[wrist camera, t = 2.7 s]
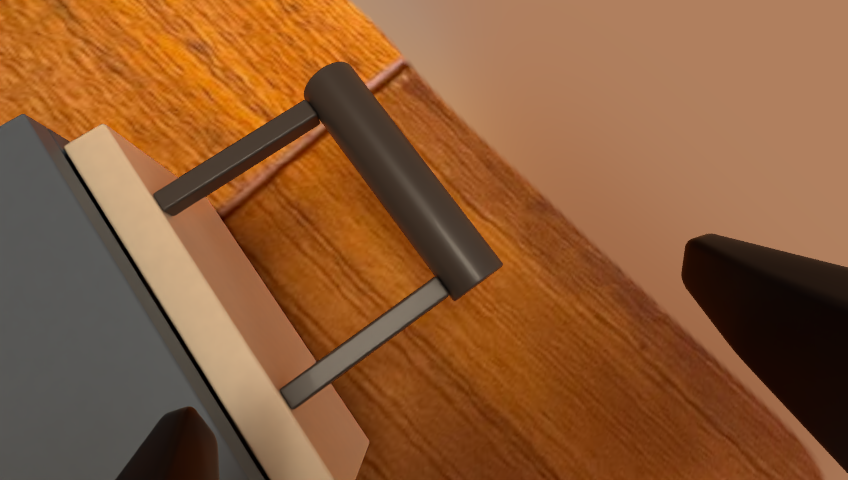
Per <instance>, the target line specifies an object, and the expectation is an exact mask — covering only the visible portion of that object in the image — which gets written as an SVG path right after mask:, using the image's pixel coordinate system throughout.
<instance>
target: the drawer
mask: <svg viewBox="0 0 848 480" xmlns="http://www.w3.org/2000/svg"><path fill="white" fill-rule="evenodd" d="M304 98H305V100H303V101H302V102H300V103H298V104H297V105H295V106H294V107H292V108H290V109H289V110H287V111H285V112H284V113H282V114H281V115H279V116H277V117H276V118H274V119H273V120H271V121H269V122H268V123H266V124H264V125H263V126H261V127H260V128H258V129H256V130H255V131H253V132H252V133H250V134H248V135H247V136H245V137H244V138H242V139H240V140H239V141H237V142H235V143H234V144H232V145H231V146H229V147H227V148H226V149H224V150H223V151H221V152H219V153H218V154H216V155H215V156H213V157H211V158H210V159H208V160H206V161H205V162H203V163H202V164H200V165H198V166H197V167H195V168H194V169H192V170H190V171H189V172H187V173H185V174H184V175H182V176H181V177H179V178H178V177H176V176H175V175H174V174H172V173H171V172H170V171H168V170H167V169H166V168H164V167H163V166H161V165H160V164H159V163H157V162H156V161H155V160H153V159H152V158H151V157H149V156H148V155H146V154H145V153H144V152H142V151H141V150H140V149H138V148H137V147H136V146H134V145H133V144H131V143H130V142H129V141H127V140H126V139H125V138H123V137H122V136H121V135H119V134H118V133H116V132H115V131H114V130H112V129H111V128H110V127H108V126H107V125H105V124H101V125H99V126H97V127H96V128H94V129H92V130H91V131H89V132H87V133H85V134H84V135H82V136H80V137H79V138H77V139H75V140H73V141H72V142H70V143H68V144H67V145H65V146H64V149H65V151H66V153H67V154H68V156H69V158H70V159H71V161H72V162H73V164H74V166H75V167H76V169H77V170H78V172H79V174H80V175H81V177H82V178H83V180H84V182H85V183H86V185H87V187H88V188H89V190H90V191H91V193H92V195H93V196H94V198H95V199H96V201H97V203H98V204H99V206H100V207H101V209H102V211H103V212H104V214H105V216H106V217H107V219H108V220H109V222H110V224H111V225H112V227H113V228H114V230H115V231H114V230H112V229H110V231H111V233H112V234H113V236H114V238H115V239H116V241H117V242H118V244H119V246H120V247H121V249H122V250H123V252H124V254H125V255H126V257H127V258H128V260H129V262H130V263H131V265H132V267H133V268H134V270H135V271H136V273H137V275H138V276H139V278H140V279H141V281H142V283H143V284H144V286H145V288H146V289H147V291H148V292H149V294H150V296H151V297H152V299H153V300H154V302H155V304H156V305H157V307H158V309H159V310H160V312H161V313H162V315H163V317H164V318H165V320H166V321H167V323H168V325H169V326H170V328H171V330H172V331H173V333H174V334H175V336H176V338H177V339H178V341H179V342H180V344H181V346H182V347H183V349H184V351H185V352H186V354H187V355H188V357H189V359H190V360H191V362H192V363H193V365H194V367H195V368H196V370H197V371H198V373H199V375H200V376H201V378H202V380H203V381H204V383H205V384H206V386H207V388H208V389H209V391H210V392H211V394H212V396H213V397H214V399H215V401H216V402H217V404H218V405H219V407H220V409H221V410H222V412H223V413H224V415H225V417H226V418H227V420H228V422H229V423H230V425H231V426H232V428H233V430H234V431H235V433H236V434H237V436H238V438H239V439H240V441H241V443H242V444H243V446H244V447H245V449H246V451H247V452H248V454H249V455H250V457H251V459H252V460H253V462H254V464H255V465H256V467H257V468H258V470H259V472H260V473H261V475H262V476H263V478H264V480H356V477H357V474H358V472H359V469H360V466H361V464H362V461H363V459H364V456H365V453H366V451H367V448H368V445H369V443H370V442H369V440H368V438H367V437H366V435H365V434H364V432H363V431H362V429H361V428H360V426H359V425H358V423H357V422H356V420H355V419H354V417H353V416H352V414H351V413H350V411H349V410H348V408H347V407H346V405H345V404H344V402H343V401H342V399H341V398H340V396H339V395H338V393H337V392H336V390H335V389H334V387H333V386H332V384H331V383H332V382H333V381H335V380H336V379H337V378H339V377H340V376H341V375H343V374H344V373H346V372H347V371H348V370H350V369H351V368H352V367H354V366H355V365H356V364H358V363H359V362H360V361H362V360H363V359H364V358H366V357H367V356H369V355H370V354H371V353H373V352H374V351H375V350H377V349H378V348H379V347H381V346H382V345H383V344H385V343H386V342H388V341H389V340H390V339H392V338H393V337H394V336H396V335H397V334H398V333H400V332H401V331H402V330H404V329H405V328H407V327H408V326H409V325H411V324H412V323H413V322H415V321H416V320H417V319H419V318H420V317H421V316H423V315H424V314H426V313H427V312H428V311H430V310H431V309H432V308H434V307H435V306H436V305H438V304H439V303H440V302H442V301H443V300H445V299H446V298H447V297H448V296H450V297H451V298H452V300H453V301H456V300H458V299H459V298H460V297H462V296H463V295H465V294H466V293H467V292H469V291H470V290H471V289H473V288H474V287H475V286H477V285H478V284H480V283H481V282H482V281H484V280H485V279H486V278H488V277H489V276H490V275H491V274H493V273H494V272H495V271H497V270H498V269H499V268H501V267H502V265H503V263H502V262H501V261H500V259H499V258H498V257H497V255H496V254H495V253H494V252H493V250H492V249H491V248H490V246H489V245H488V244H487V242H486V241H485V240H484V239H483V237H482V236H481V235H480V233H479V232H478V231H477V229H476V228H475V227H474V226H473V224H472V223H471V222H470V220H469V219H468V218H467V216H466V215H465V214H464V212H463V211H462V210H461V209H460V207H459V206H458V205H457V203H456V202H455V201H454V199H453V198H452V197H451V196H450V194H449V193H448V192H447V190H446V189H445V188H444V186H443V185H442V184H441V183H440V181H439V180H438V179H437V177H436V176H435V175H434V173H433V172H432V171H431V170H430V168H429V167H428V166H427V164H426V163H425V162H424V160H423V159H422V158H421V157H420V155H419V154H418V153H417V151H416V150H415V149H414V147H413V146H412V145H411V144H410V142H409V141H408V140H407V138H406V137H405V136H404V134H403V133H402V132H401V131H400V129H399V128H398V127H397V125H396V124H395V123H394V121H393V120H392V119H391V118H390V116H389V115H388V114H387V112H386V111H385V110H384V108H383V107H382V106H381V105H380V103H379V102H378V101H377V99H376V98H375V97H374V95H373V94H372V93H371V92H370V90H369V89H368V88H367V86H366V85H365V84H364V82H363V81H362V80H361V78H360V77H359V76H358V75H357V73H356V72H355V71H354V69H353V68H352V67H351V66H350V65H349V64H348V63H345V62H335V63H332V64H329V65H327V66H325V67H323V68H322V69H320V70H319V71H318V72H317V73H316V74H314V75H313V77H312V78H311V79H310V80H309V82H308V83H307V85H306V87H305V90H304ZM319 119H320V121H321V122H322V124H323V125H324V126H325V128H326V129H327V130H328V132H329V133H330V134H331V136H332V137H333V138H334V140H335V141H336V143H337V144H338V145H339V147H340V148H341V149H342V151H343V152H344V153H345V155H346V156H347V157H348V159H349V160H350V161H351V163H352V164H353V166H354V167H355V168H356V170H357V171H358V172H359V174H360V175H361V176H362V178H363V179H364V180H365V182H366V183H367V185H368V186H369V187H370V189H371V190H372V191H373V193H374V194H375V195H376V197H377V198H378V199H379V201H380V202H381V203H382V205H383V206H384V208H385V209H386V210H387V212H388V213H389V214H390V216H391V217H392V218H393V220H394V221H395V222H396V224H397V225H398V227H399V228H400V229H401V231H402V232H403V233H404V235H405V236H406V237H407V239H408V240H409V241H410V243H411V244H412V246H413V247H414V248H415V250H416V251H417V252H418V254H419V255H420V256H421V258H422V259H423V260H424V262H425V263H426V264H427V266H428V267H429V269H430V270H431V271H432V273H433V274H434V275H435V277H433V278H432V279H431V280H429V281H428V282H427V283H425V284H424V285H422V286H421V287H420V288H418V289H417V290H415V291H414V292H413V293H411V294H410V295H409V296H407V297H406V298H404V299H403V300H402V301H400V302H399V303H398V304H396V305H395V306H393V307H392V308H391V309H389V310H388V311H387V312H385V313H384V314H382V315H381V316H380V317H378V318H377V319H375V320H374V321H373V322H371V323H370V324H369V325H367V326H366V327H364V328H363V329H362V330H360V331H359V332H358V333H356V334H355V335H353V336H352V337H351V338H349V339H348V340H347V341H345V342H344V343H342V344H341V345H340V346H338V347H337V348H335V349H334V350H333V351H331V352H330V353H329V354H327V355H326V356H324V357H323V358H322V359H320V360H319V361H318V362H316V360H315V359H314V357H313V356H312V354H311V353H310V351H309V350H308V348H307V347H306V345H305V344H304V342H303V341H302V339H301V338H300V336H299V335H298V333H297V332H296V330H295V329H294V327H293V326H292V324H291V323H290V321H289V320H288V318H287V317H286V315H285V314H284V312H283V311H282V309H281V308H280V306H279V305H278V303H277V302H276V300H275V299H274V297H273V296H272V294H271V293H270V291H269V290H268V288H267V287H266V285H265V284H264V282H263V281H262V279H261V278H260V276H259V275H258V273H257V272H256V270H255V269H254V267H253V266H252V264H251V263H250V261H249V260H248V258H247V257H246V256H245V254H244V253H243V251H242V250H241V248H240V247H239V245H238V244H237V242H236V241H235V239H234V238H233V236H232V235H231V233H230V232H229V230H228V229H227V227H226V226H225V224H224V223H223V221H222V220H221V218H220V217H219V215H218V214H217V212H216V211H215V209H214V208H213V206H212V205H211V203H210V202H209V200H208V199H206V198H205V197H206V196H207V195H209V194H210V193H212V192H213V191H215V190H217V189H218V188H220V187H221V186H223V185H225V184H226V183H228V182H229V181H231V180H232V179H234V178H236V177H237V176H239V175H240V174H242V173H243V172H245V171H247V170H248V169H250V168H251V167H253V166H255V165H256V164H258V163H259V162H261V161H262V160H264V159H266V158H267V157H269V156H270V155H272V154H273V153H275V152H277V151H278V150H280V149H281V148H283V147H285V146H286V145H288V144H289V143H291V142H292V141H294V140H296V139H297V138H299V137H300V136H302V135H303V134H305V133H307V132H308V131H310V130H311V129H313V128H315V127H316V126H318V125H319V124H320V121H319Z"/></svg>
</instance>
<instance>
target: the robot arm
mask: <svg viewBox="0 0 848 480" xmlns="http://www.w3.org/2000/svg"><path fill="white" fill-rule="evenodd" d="M682 280H683V283H684V285H685V287H686V289H687V290H688V291H689V293H690V294H691V295H692V296H693V298H694V299H695V300H696V302H697V303H698V304H699V306H700V307H701V308H702V309H703V311H704V312H705V314H706V315H707V316H708V317H709V319H710V320H711V321H712V323H713V324H714V325H715V327H716V328H717V329H718V331H719V332H720V333H721V335H722V336H723V337H724V338H725V340H726V341H727V342H728V344H729V345H730V346H731V347H732V349H733V350H734V351H735V352H736V353H737V355H739V357H740V358H741V359H742V360H743V361H744V363H745V364H746V365H747V366H748V367H749V368H750V369H751V370H752V371H753V372H754V373H755V374H756V375H757V377H758V378H759V379H760V380H761V381H762V382H763V383H764V384H765V385H766V386H767V387H768V388H769V389H770V390H771V391H772V393H773V394H774V395H775V396H776V397H777V398H778V399H779V400H780V401H781V402H782V403H783V404H784V405H785V407H786V408H787V409H788V410H789V411H790V412H791V413H792V414H793V415H794V416H795V417H796V418H797V419H798V420H799V422H801V424H802V425H803V426H804V427H805V428H806V429H807V430H808V431H809V432H810V433H811V434H812V436H814V438H815V439H816V440H817V441H818V442H819V443H820V444H821V445H822V446H823V447H824V448H825V450H826V451H827V452H829V454H830V455H831V456H832V457H833V458H834V459H835V460H836V461H837V462H838V463H839V465H840V466H841V467H842V468H843V469H844V470H845V471H846V472H847V473H848V267H844V266H840V265H836V264H832V263H827V262H823V261H819V260H816V259H812V258H808V257H804V256H800V255H795V254H791V253H787V252H784V251H779V250H775V249H771V248H768V247H764V246H760V245H756V244H752V243H748V242H744V241H740V240H736V239H732V238H728V237H724V236H719V235H716V234H705V235H702V236H699V237H696V238H693V239H691V240H689V241H688V243H687V244H686V246H685V252H684V260H683V266H682ZM115 480H219V457H218V444H217V440H216V437H215V435H214V433H213V432H212V430H211V429H210V428H209V426H208V425H207V424H206V422H205V421H204V420H203V418H202V417H201V416H200V414H199V413H198V412H197V410H196V409H195V408H193V407H191V406H186V407H183V408H180V409H177V410H174V411H171V412H168V413H166V414H165V415H164V416H163V417H162V418H161V419H160V420H159V421H158V423H157V424H156V425H155V427H154V428H153V430H152V431H151V432H150V434H149V435H148V436H147V438H146V439H145V440H144V442H143V443H142V444H141V446H140V447H139V448H138V450H137V451H136V452H135V454H134V455H133V456H132V458H131V459H130V460H129V462H128V463H127V464H126V466H125V467H124V468H123V470H122V471H121V472H120V474H119V475H118V476H117V478H116V479H115Z"/></svg>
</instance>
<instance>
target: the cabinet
mask: <svg viewBox="0 0 848 480" xmlns="http://www.w3.org/2000/svg"><path fill="white" fill-rule="evenodd" d="M68 143H70V142H69V141H68V140H66V139H64V138H63V137H61V136H60V135H58V134H56V133H55V132H53V131H51V130H50V129H47V128H46V127H45V126H43V125H41V124H40V123H38V122H36V121H35V120H33V119H31V118H30V117H28V116H26V115H25V114H21V115H19V116H18V117H16V118H14V119H12V120H10V121H9V122H7V123H5V124H3V125H2V126H0V480H115V479H116V478H117V476H118V475H119V474H120V472H121V471H122V470H123V468H124V467H125V466H126V464H127V463H128V462H129V460H130V459H131V458H132V456H133V455H134V454H135V452H136V451H137V450H138V448H139V447H140V446H141V444H142V443H143V442H144V440H145V439H146V438H147V436H148V435H149V434H150V432H151V431H152V430H153V428H154V427H155V425H156V424H157V423H158V421H159V420H160V419H161V418H162V417H163V416H164V415H165V414H166V413H168V412H171V411H174V410H177V409H180V408H183V407H186V406H191V407H193V408H195V409H196V410H197V412H198V413H199V414H200V416H201V417H202V418H203V420H204V421H205V422H206V424H207V425H208V426H209V428H210V429H211V430H212V432H213V433H214V435H215V437H216V440H217V444H218V457H219V480H264V478H263V476H262V475H261V473H260V472H259V470H258V468H257V467H256V465H255V464H254V462H253V460H252V459H251V457H250V455H249V454H248V452H247V451H246V449H245V447H244V446H243V444H242V443H241V441H240V439H239V438H238V436H237V434H236V433H235V431H234V430H233V428H232V426H231V425H230V423H229V422H228V420H227V418H226V417H225V415H224V413H223V412H222V410H221V409H220V407H219V405H218V404H217V402H216V401H215V399H214V397H213V396H212V394H211V392H210V391H209V389H208V388H207V386H206V384H205V383H204V381H203V380H202V378H201V376H200V375H199V373H198V371H197V370H196V368H195V367H194V365H193V363H192V362H191V360H190V359H189V357H188V355H187V354H186V352H185V351H184V349H183V347H182V346H181V344H180V342H179V341H178V339H177V338H176V336H175V334H174V333H173V331H172V330H171V328H170V326H169V325H168V323H167V321H166V320H165V318H164V317H163V315H162V313H161V312H160V310H159V309H158V307H157V305H156V304H155V302H154V300H153V299H152V297H151V296H150V294H149V292H148V291H147V289H146V288H145V286H144V284H143V283H142V281H141V279H140V278H139V276H138V275H137V273H136V271H135V270H134V268H133V267H132V265H131V263H130V262H129V260H128V258H127V257H126V255H125V254H124V252H123V250H122V249H121V247H120V246H119V244H118V242H117V241H116V239H115V238H114V236H113V234H112V233H111V231H110V229H112V230H114V228H113V227H112V225H111V224H110V222H109V220H108V219H107V217H106V216H105V214H104V212H103V211H102V209H101V207H100V206H99V204H98V203H97V201H96V199H95V198H94V196H93V195H92V193H91V191H90V190H89V188H88V187H87V185H86V183H85V182H84V180H83V178H82V177H81V175H80V174H79V172H78V170H77V169H76V167H75V166H74V164H73V162H72V161H71V159H70V158H69V156H68V154H67V153H66V151H65V149H64V146H65V145H67V144H68ZM114 231H115V230H114Z"/></svg>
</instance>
